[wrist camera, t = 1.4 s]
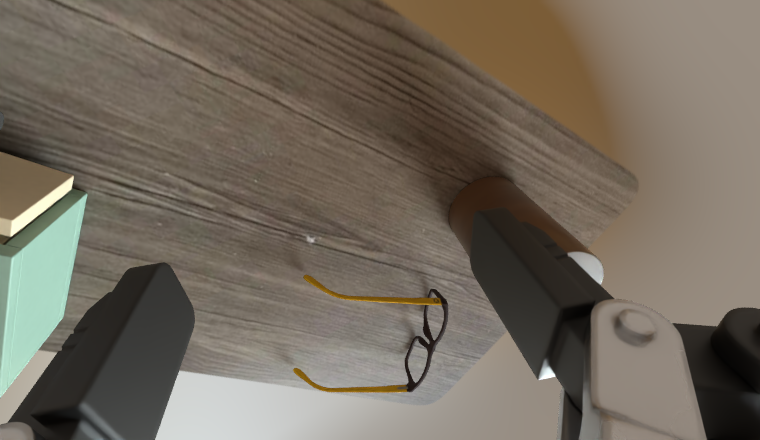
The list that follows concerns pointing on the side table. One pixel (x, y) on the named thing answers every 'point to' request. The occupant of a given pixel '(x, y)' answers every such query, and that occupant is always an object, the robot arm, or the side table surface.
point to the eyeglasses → (430, 348)
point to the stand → (524, 209)
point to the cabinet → (36, 282)
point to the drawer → (26, 192)
